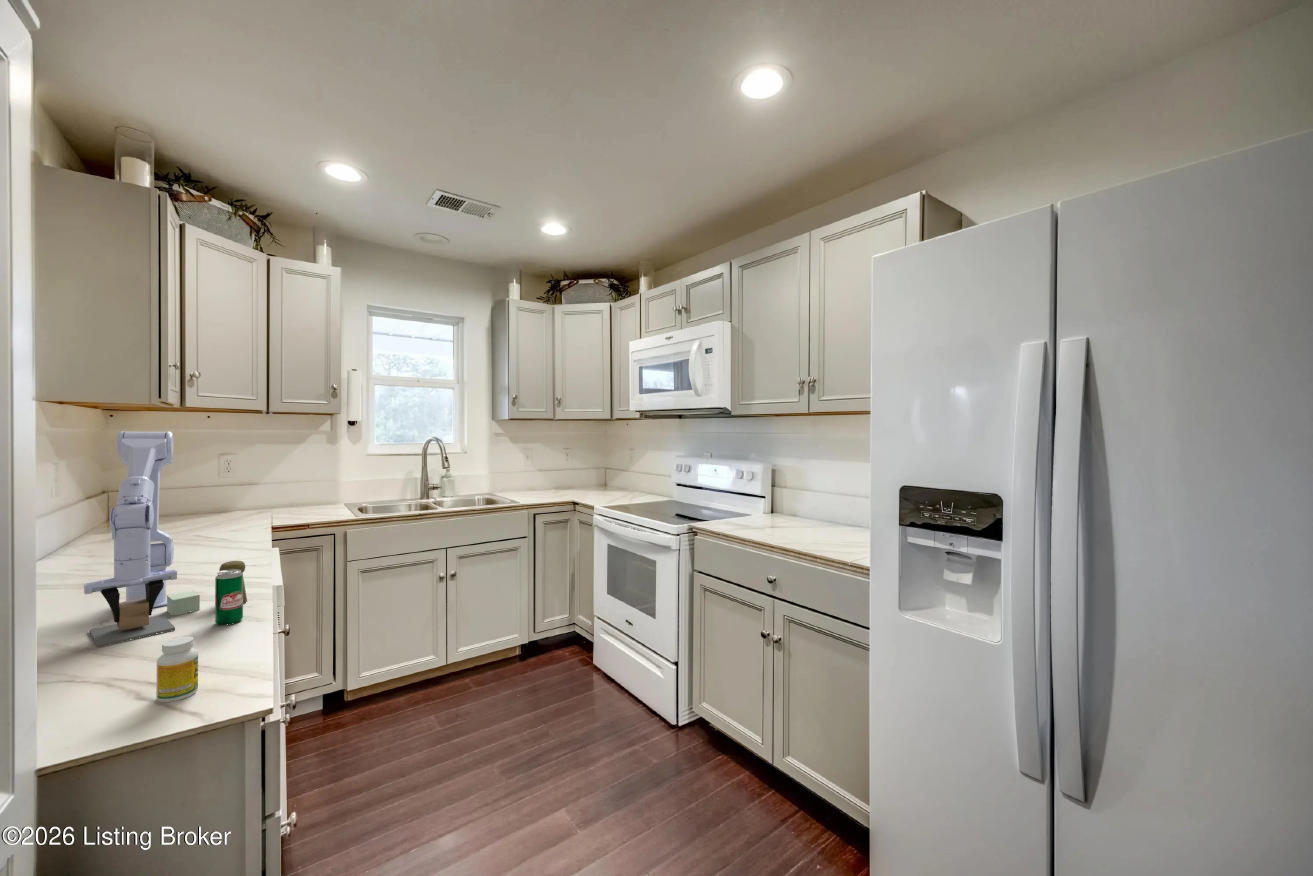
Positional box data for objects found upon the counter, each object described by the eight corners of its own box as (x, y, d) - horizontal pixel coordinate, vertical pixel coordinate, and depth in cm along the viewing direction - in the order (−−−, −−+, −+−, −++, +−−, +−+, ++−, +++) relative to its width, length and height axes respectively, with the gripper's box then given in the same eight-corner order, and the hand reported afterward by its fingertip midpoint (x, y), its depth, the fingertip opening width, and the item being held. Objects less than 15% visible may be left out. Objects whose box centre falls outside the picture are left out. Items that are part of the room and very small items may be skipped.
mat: (89, 632, 115) (89, 629, 115) (163, 616, 125) (163, 614, 125) (97, 647, 108) (97, 644, 108) (175, 630, 117) (175, 627, 117)
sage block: (166, 611, 128) (166, 595, 128) (193, 606, 133) (193, 590, 132) (172, 616, 126) (172, 600, 125) (199, 610, 130) (199, 594, 130)
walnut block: (116, 625, 116) (116, 603, 116) (144, 619, 119) (144, 598, 119) (120, 630, 113) (120, 608, 113) (148, 624, 117) (148, 602, 117)
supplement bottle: (153, 695, 90) (153, 641, 90) (194, 684, 95) (194, 632, 94) (159, 707, 87) (159, 650, 87) (201, 694, 91) (201, 640, 91)
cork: (230, 609, 131) (230, 565, 131) (210, 606, 132) (210, 563, 132) (253, 601, 137) (253, 559, 136) (234, 598, 138) (234, 557, 138)
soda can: (220, 628, 119) (220, 576, 119) (211, 622, 122) (211, 572, 122) (246, 621, 124) (246, 571, 123) (237, 616, 126) (237, 567, 126)
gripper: (86, 567, 108) (87, 632, 108) (180, 554, 119) (180, 613, 120) (82, 561, 112) (82, 623, 112) (173, 549, 123) (173, 606, 124)
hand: (132, 617), depth 116 cm, fingers closed on walnut block, 4 cm apart
